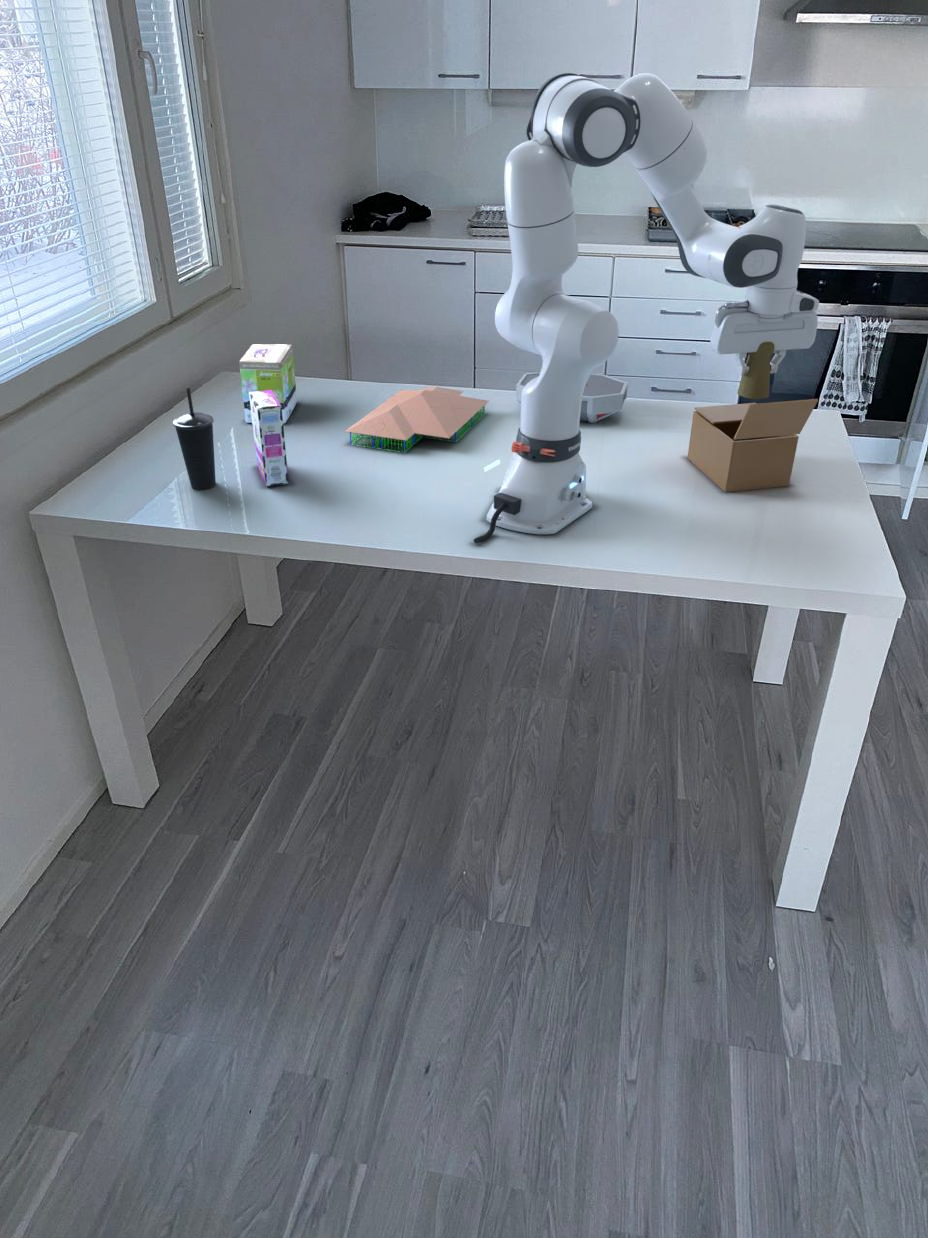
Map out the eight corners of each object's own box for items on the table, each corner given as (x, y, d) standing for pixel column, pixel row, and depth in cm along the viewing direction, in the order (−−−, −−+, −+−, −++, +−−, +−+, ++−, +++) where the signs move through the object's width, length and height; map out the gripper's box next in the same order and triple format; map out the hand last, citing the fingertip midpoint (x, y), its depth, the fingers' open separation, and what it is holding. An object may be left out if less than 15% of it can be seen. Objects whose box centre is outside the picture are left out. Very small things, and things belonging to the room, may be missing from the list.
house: (492, 410, 226) (493, 377, 222) (441, 459, 200) (441, 422, 196) (406, 399, 233) (404, 366, 229) (345, 445, 207) (343, 409, 203)
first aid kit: (511, 421, 220) (617, 431, 214) (512, 390, 216) (620, 399, 210) (527, 397, 234) (627, 406, 229) (528, 368, 230) (630, 376, 225)
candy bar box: (290, 484, 189) (282, 405, 180) (266, 487, 188) (256, 408, 179) (280, 464, 198) (272, 388, 189) (256, 467, 197) (247, 390, 188)
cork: (759, 387, 186) (769, 332, 180) (774, 397, 181) (785, 340, 175) (731, 390, 185) (740, 334, 179) (746, 400, 180) (755, 342, 174)
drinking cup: (189, 495, 184) (172, 397, 174) (180, 481, 190) (163, 385, 180) (227, 488, 187) (213, 390, 177) (217, 474, 193) (203, 379, 182)
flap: (799, 432, 183) (799, 433, 183) (733, 438, 180) (734, 439, 180) (817, 398, 176) (818, 400, 175) (749, 404, 173) (750, 405, 173)
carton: (788, 485, 189) (799, 432, 183) (725, 492, 186) (733, 438, 180) (746, 452, 204) (755, 402, 198) (687, 458, 201) (694, 407, 195)
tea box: (287, 424, 218) (281, 361, 210) (244, 423, 218) (236, 360, 210) (298, 402, 231) (292, 342, 223) (257, 402, 231) (250, 342, 223)
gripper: (725, 306, 169) (714, 382, 176) (827, 300, 173) (812, 374, 180) (710, 298, 174) (700, 372, 181) (809, 292, 178) (795, 364, 185)
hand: (757, 373), depth 181 cm, fingers closed on cork, 4 cm apart
